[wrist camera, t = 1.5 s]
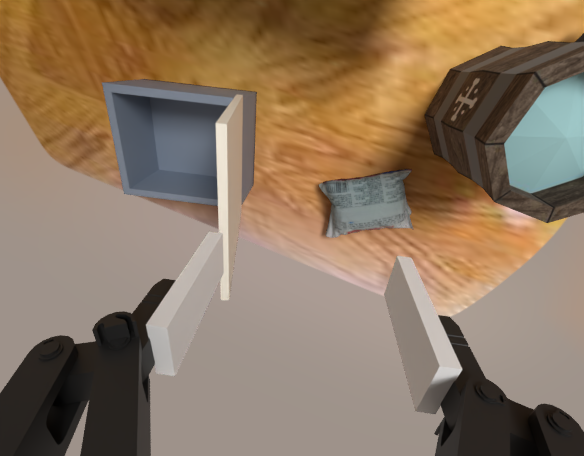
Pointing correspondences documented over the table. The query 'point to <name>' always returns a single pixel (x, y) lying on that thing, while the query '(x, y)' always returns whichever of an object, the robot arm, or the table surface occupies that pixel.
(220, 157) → the lid
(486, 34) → the table surface
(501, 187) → the mug
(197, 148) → the box
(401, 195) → the packaged food
